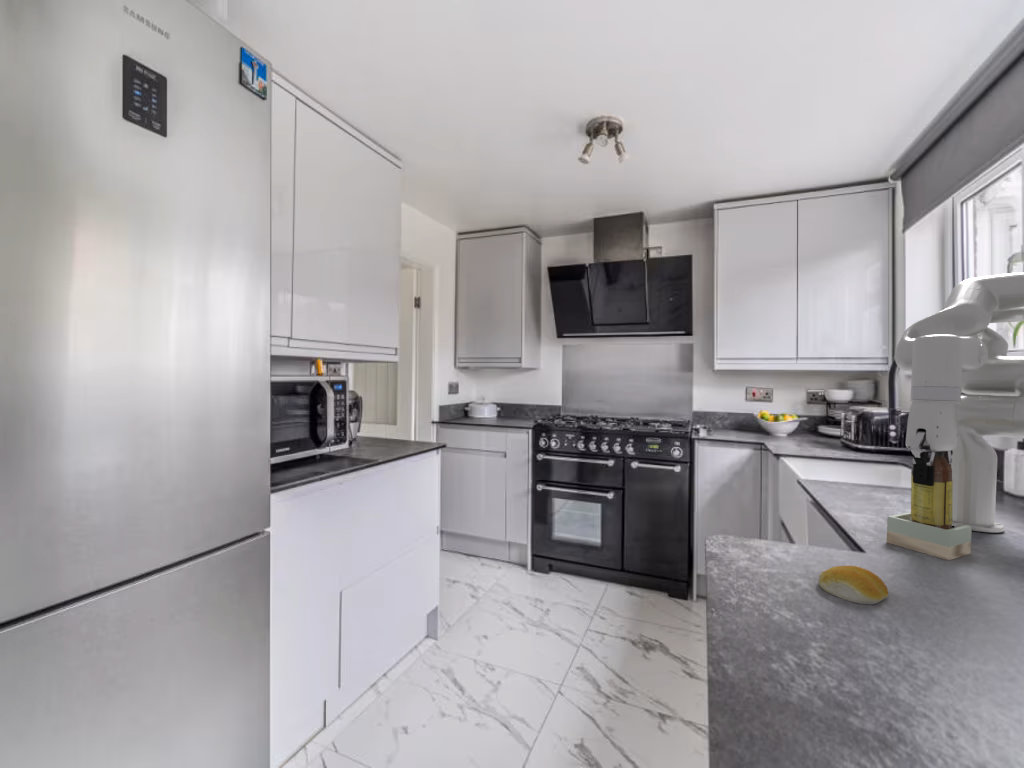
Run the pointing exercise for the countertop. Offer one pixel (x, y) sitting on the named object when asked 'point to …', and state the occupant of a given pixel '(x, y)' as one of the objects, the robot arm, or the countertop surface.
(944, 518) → the sauce bottle
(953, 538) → the tray
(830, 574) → the bread roll
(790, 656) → the countertop surface
